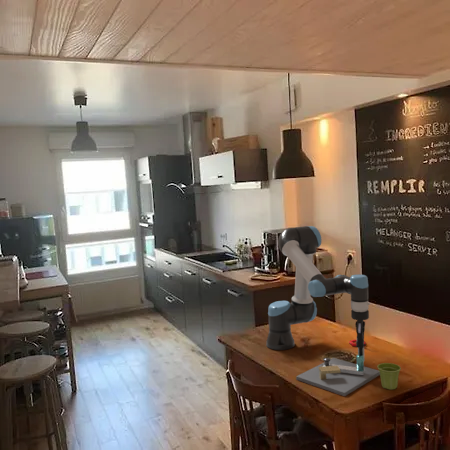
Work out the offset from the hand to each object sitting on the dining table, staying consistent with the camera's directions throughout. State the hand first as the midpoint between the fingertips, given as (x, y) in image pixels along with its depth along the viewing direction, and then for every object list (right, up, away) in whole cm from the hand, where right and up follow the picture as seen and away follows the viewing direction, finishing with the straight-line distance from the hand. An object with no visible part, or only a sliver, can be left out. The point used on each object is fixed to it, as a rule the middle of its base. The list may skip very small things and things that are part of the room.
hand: (361, 360), depth 214 cm
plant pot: (+8, -8, -13) cm, 17 cm away
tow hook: (+9, -3, +40) cm, 41 cm away
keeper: (-15, -6, -5) cm, 17 cm away
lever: (-8, -5, +1) cm, 10 cm away
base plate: (-10, -7, -1) cm, 13 cm away
